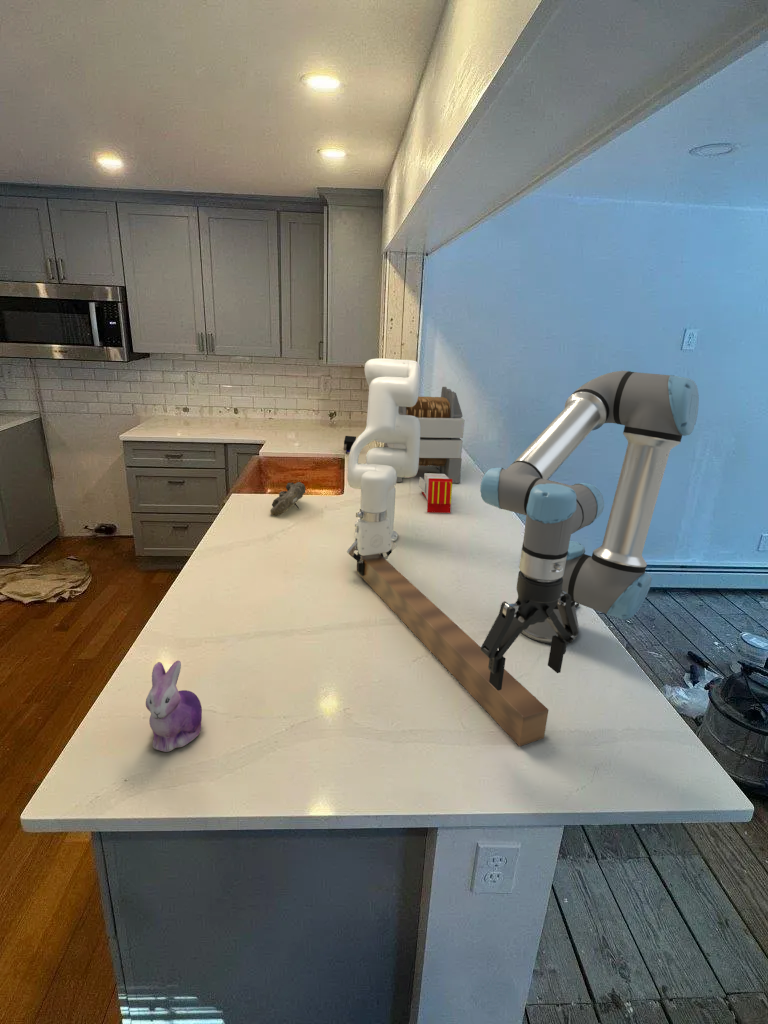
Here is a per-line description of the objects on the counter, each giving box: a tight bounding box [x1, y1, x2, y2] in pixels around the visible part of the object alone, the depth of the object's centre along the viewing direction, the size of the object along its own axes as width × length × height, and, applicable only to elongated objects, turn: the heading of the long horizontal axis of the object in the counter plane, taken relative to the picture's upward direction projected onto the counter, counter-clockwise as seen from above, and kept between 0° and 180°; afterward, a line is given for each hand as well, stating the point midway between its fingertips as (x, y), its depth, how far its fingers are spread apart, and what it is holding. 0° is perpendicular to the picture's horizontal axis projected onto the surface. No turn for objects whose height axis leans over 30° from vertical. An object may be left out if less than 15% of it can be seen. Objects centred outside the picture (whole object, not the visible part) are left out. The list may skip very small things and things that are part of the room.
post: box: [356, 551, 549, 747], centre depth 137 cm, size 78×6×6 cm, turn 25°
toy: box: [418, 472, 453, 514], centre depth 233 cm, size 12×13×30 cm
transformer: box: [383, 386, 465, 484], centre depth 268 cm, size 34×33×41 cm
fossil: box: [270, 481, 307, 517], centre depth 218 cm, size 22×10×15 cm
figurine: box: [145, 660, 203, 753], centre depth 100 cm, size 9×10×15 cm
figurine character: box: [343, 435, 357, 455], centre depth 308 cm, size 7×8×15 cm
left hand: (371, 571), depth 167 cm, fingers closed on post, 5 cm apart
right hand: (525, 677), depth 105 cm, fingers open, 13 cm apart
